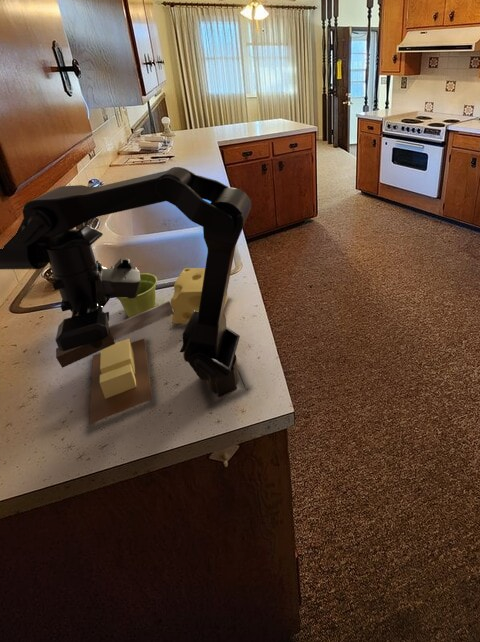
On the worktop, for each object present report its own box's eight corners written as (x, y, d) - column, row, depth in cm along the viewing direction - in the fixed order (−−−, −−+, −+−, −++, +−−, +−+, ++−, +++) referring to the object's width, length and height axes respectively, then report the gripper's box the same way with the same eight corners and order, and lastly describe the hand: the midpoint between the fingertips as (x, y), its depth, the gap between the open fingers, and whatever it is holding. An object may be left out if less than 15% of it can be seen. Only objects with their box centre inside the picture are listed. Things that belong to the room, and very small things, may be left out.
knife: (62, 368, 58) (54, 355, 57) (61, 358, 60) (54, 346, 59) (175, 316, 67) (171, 304, 66) (172, 309, 69) (167, 298, 68)
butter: (135, 373, 68) (130, 358, 66) (105, 384, 65) (99, 369, 64) (133, 353, 72) (129, 338, 71) (105, 362, 70) (100, 347, 69)
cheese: (173, 327, 81) (165, 292, 77) (190, 298, 91) (184, 265, 87) (218, 327, 81) (213, 292, 77) (230, 298, 91) (225, 265, 87)
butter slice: (136, 387, 65) (131, 371, 63) (105, 399, 63) (99, 383, 61) (135, 379, 66) (130, 363, 65) (105, 390, 64) (99, 374, 63)
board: (153, 403, 63) (151, 398, 63) (91, 429, 59) (89, 424, 58) (145, 342, 77) (144, 338, 76) (94, 359, 72) (93, 355, 72)
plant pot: (171, 304, 88) (165, 275, 85) (147, 330, 80) (139, 299, 77) (139, 299, 90) (131, 271, 87) (112, 324, 82) (102, 294, 78)
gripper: (133, 283, 52) (153, 361, 58) (130, 231, 67) (146, 298, 73) (40, 306, 47) (73, 389, 53) (59, 245, 62) (82, 315, 68)
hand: (99, 341), depth 62 cm, fingers closed on knife, 2 cm apart
